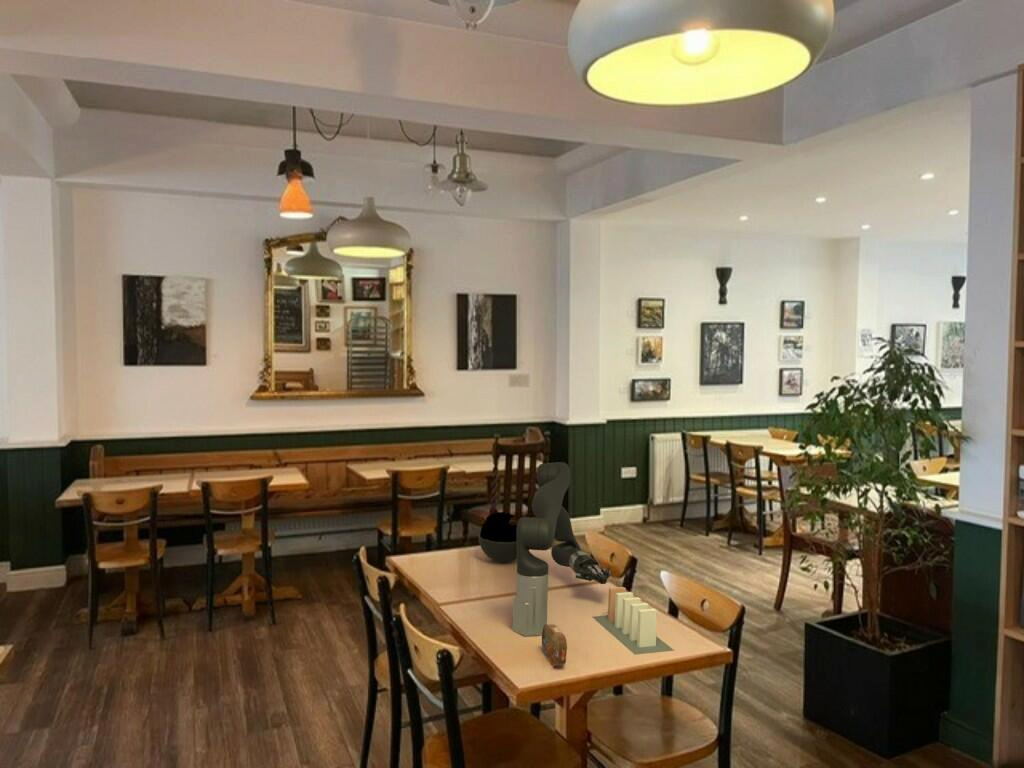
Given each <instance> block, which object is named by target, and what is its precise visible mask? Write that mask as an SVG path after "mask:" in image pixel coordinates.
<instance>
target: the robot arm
mask: <svg viewBox="0 0 1024 768" xmlns="http://www.w3.org/2000/svg"><path fill="white" fill-rule="evenodd" d="M536 474H537V477H536V478H537V483H538V486H539V487H538V489H537V490H536V492H535V494H534V495H533V498H532V502H531V509H532V513H533V514H534V516H535V517H529V516H528V517H526V516H525V517H520V518H519V519H518V521H517V559H516V585H515V586H516V587H515V588H516V590H515V592H516V593H515V597H514V598H513V601H512V631H514V632H515V633H517V634H519V635H521V636H524V637H527V636H533V637H534V636H540V635H541V636H542V631H543V627H544V625H545V624H548V598H549V597H548V594H549V591H548V590H549V564H548V562H546V561H545V559H544V560H543V559H541V558H539V557H537V556H535V555H534V554H533V553H532V552H531V551H530V550H532V551H548V550H550V549H551V552H550V554H551V558H552V560H553V561H554V563H556V564H557V565H558V566H561V567H567V568H570V570H572V571H573V572H574V573H575V578H576V579H579V580H584V581H588V582H592V581H594V582H597V583H599V584H600V585H605V584H606V585H607V580H608V579H609V578H610V576H611V573H612V572H611V570H612V568H611V567H606V568H603V567H602V566H600V565H599V563H598V561H597V560H596V559H595V558H593V557H592V556H591V555H589V554H587V553H586V552H584V551H582V549H581V547H580V545H579V543H578V540H577V539H576V537H575V534H574V531H573V527H572V526H573V525H572V521H571V517H570V515H569V512H568V511H567V510H566V508H565V507H563V501H564V497H565V494H566V492H567V491H568V488H569V486H570V482H571V469H570V467H569V465H568V464H567V463H566V462H563V461H560V462H559V461H558V462H547V463H541V464H539V465H538V467H537V471H536ZM554 540H555V541H557V542H560V543H557V544H555V545H554V546H553V544H554ZM552 546H553V547H552Z"/></svg>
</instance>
